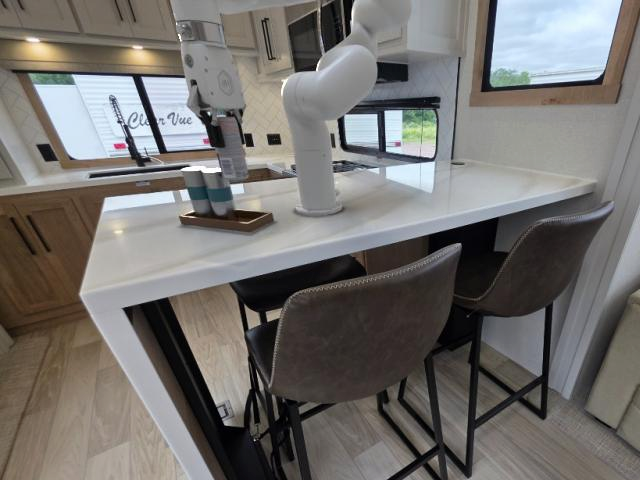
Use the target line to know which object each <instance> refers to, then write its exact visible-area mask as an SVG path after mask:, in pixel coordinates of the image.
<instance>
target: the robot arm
mask: <svg viewBox="0 0 640 480" xmlns="http://www.w3.org/2000/svg"><path fill="white" fill-rule="evenodd" d="M316 1H318V0H169V3H170V6H171V10H172V13H173V18H174V21H175V31H176V33H177V35H178V36H179V39H180V43H181V44H180V54H181V62H182V68H183V74H184V78H185V82H186V83H185V84H186V87H187V91H188V94H189V95H188V98H187V101H186V108H188V109H189V111H191V112H192V113H193V114H194V115H195V116H196V118H197V119H198V120H199V121H200V124H202V125H203V126H204V127H205V131H206V135H207V139H208V143H209V146H210V148H214V149H215V148H225V143H224V138H223V134H222V130H221V127H220V126H217V117H218V110H223V112H224V116H225V117H235V119H236V121H237V124H238V128H239V133H240V138H241V142H242V146H243V145H244V146H245V144H246V140H245V136H244V135H245V134H244V131H243V126H242V125H243V123H244V120H243V117H244V112H245V110H246V108H247V104H246V101H245V96H244V92H243V87H242V83H241V80H240V76H239V73H238V70H237V66H236V63H235V61H234V57H233V55H232V52H231V50H230V49H228V46H227V41H226V37H225V32H224V26H223V22H222V21H223V20H222V17H221V14H223V15H235V14H242V13H247V12H253V11H259V10H264V9H270V8H276V7H278V8H279V7H291V6H295V5H301V4H306V3H312V2H316ZM412 5H413V4H412V0H354V2H353V3H352V8H351V31H350V34H349V35H348V36H347V37H345V38H344V39H343V40H342V41H341V42H339V43H338V44H336V45H335V46H334V47H331V49H329V50H327V51H326V52H325V53H324V54H322V56H321V57H320V58H319V61H318V62H317V65H316V70H313V71H311V70H309V71H299V72H298V71H297V72H294V73H292V74H290V75H289V76H288V77H287V78H286V79H285V80H284V82H283V84H282V86H281V93H280V95H281V102H282V107H283V110H284V114H285V117H286V120H287V123H288V129H289V133H290V139H291V145H292V152H293V160H294V166H295V172H296V178H297V187H298V192H299V193H298V194H299V199H300V203H298V204H296V206H295V211H296V212H297V213H299V214H301V215H310V216H320V215H321V216H323V215H327V216H329V215H334V214H336V213H339V212H340V211H342V209H343V203H341V202H340V201H337V197H338V196H339V195H340V194H341V191H340V189H339V188H336V184H335V174H334V164H333V152H332V141H331V135H330V131H329V128H328V125H327V123H326V122H331V121H337V120H338V119H340V118H342V117H344V116H345V115H346V114H347V113H348V112H350V111H351V110H352V109H353V108H354V107H356V106H357V105H358V104H359V103H360V102H361V101H362V100H364V99H365V98H366V97H367V96H368V95H370V94H371V92H372V91H373V89H374V88H375V85H376V83H377V79H378V64H377V61H378V56H379V50H378V49H379V45H378V44H379V43H378V34H379V33H385V32H389V31H395V30H399V29H401V28H403V27H404V26H406V25H407V24H408V22H409V20H410V18H411V15H412V9H413V7H412Z"/></svg>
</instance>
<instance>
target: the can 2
mask: <svg viewBox="0 0 640 480" xmlns="http://www.w3.org/2000/svg"><path fill="white" fill-rule="evenodd" d="M201 172H202V175H203V179H204V182H205V186H206V190H207V193H208V197H209V200H210V203H211V206H212V210H213V213H214V217H215V219H217V220H226V221H235V222H239V219H238V215H237V211H236V209H237V208H236V204H235V199H234V193H233V190H232V187H231V184H230V181H228V180H225V179H223V177H222V173H221V169H220V167H213V168H206V169H205V170H202V171H201Z"/></svg>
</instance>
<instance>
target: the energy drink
mask: <svg viewBox="0 0 640 480" xmlns="http://www.w3.org/2000/svg"><path fill="white" fill-rule="evenodd" d="M217 126H220V127H221V130H222V134H223V138H224V143H225V148H214V150H215V153H216V157H217V161H218V164H219V165H218V166H219V168H220V169H221V173H222V177H223V179H225V180H228V181H229V182H234V181H235V182H236V181H237V182H238V181H244V180H247V179H249V177H250V175H249V170H248V165H247V159H246V156H245V152H244V147H243V145H242V142H241V138H240V133H239V128H238V124H237V121H236V119H235V117H226V116H217Z"/></svg>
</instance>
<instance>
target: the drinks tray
mask: <svg viewBox="0 0 640 480" xmlns="http://www.w3.org/2000/svg"><path fill="white" fill-rule="evenodd" d="M236 211H237V215H238V219H239V222H235V221H226V220H217V219H209V218H200V217H196V215H195V212H194V210H192V211H189V212H186V213H183V214H181V215H178V219H179V221H180V225H182V226H191V227H198V228H199V227H200V228H207V229H217V230H224V231H233V232H241V233H249V234H251V233H252V232H254V231H256V230H258V229H260V228H262V227H264V226H266V225H268V224H270V223H272V222H274V221H275V219H274V214H273V212H272V211H261V210H251V209H241V208H236Z"/></svg>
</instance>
